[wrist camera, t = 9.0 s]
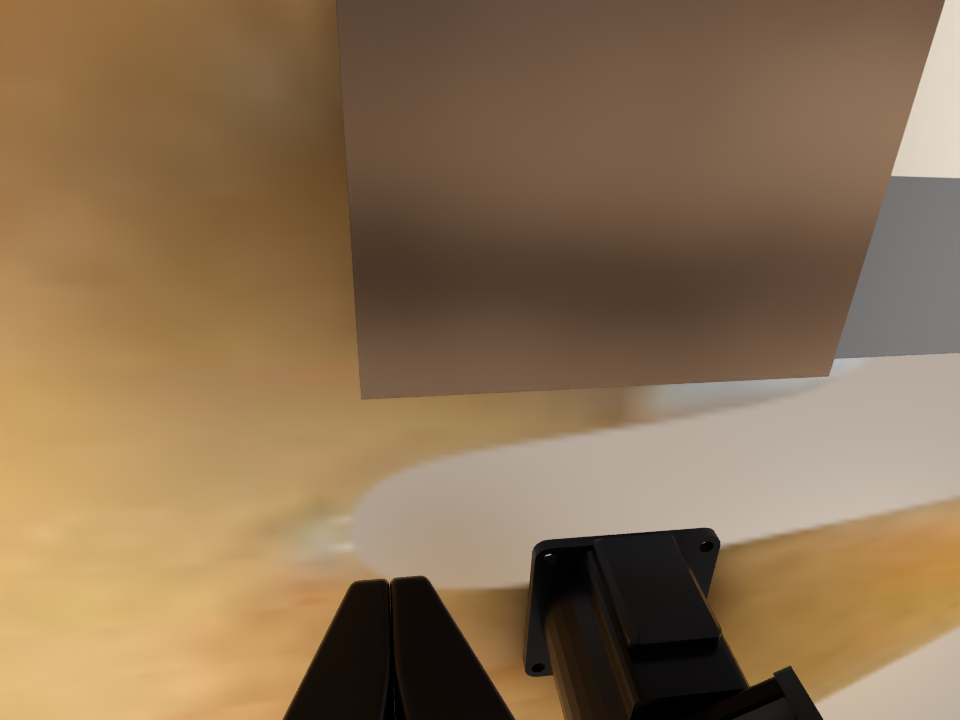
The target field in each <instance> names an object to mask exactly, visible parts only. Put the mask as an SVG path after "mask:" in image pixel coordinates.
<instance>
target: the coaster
mask: <svg viewBox="0 0 960 720" xmlns="http://www.w3.org/2000/svg"><path fill="white" fill-rule="evenodd" d="M891 176H908V177H939V178H960V0H945V3H944V6H943V9H942V12H941V16H940V19H939V22H938V25H937V29H936V32H935V35H934V38H933V41H932V45H931V48H930V51H929V54H928V58H927V61H926V64H925V67H924V70H923V74H922V77H921V80H920V83H919V87H918V90H917V93H916V96H915V99H914V103H913V106H912V109H911V112H910V116H909V119H908V122H907V125H906V128H905V132H904V135H903V138H902V141H901V145H900V148H899V151H898V154H897V157H896V161H895V164H894V167H893V170H892V174H891Z"/></svg>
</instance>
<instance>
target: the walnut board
mask: <svg viewBox="0 0 960 720" xmlns="http://www.w3.org/2000/svg"><path fill="white" fill-rule="evenodd" d="M944 3H945V0H336V9H337V25H338V41H339V57H340V72H341V88H342V104H343V120H344V136H345V151H346V167H347V183H348V199H349V215H350V230H351V246H352V262H353V278H354V294H355V309H356V325H357V341H358V357H359V373H360V388H361V399H380V398H401V397H421V396H441V395H461V394H481V393H501V392H521V391H541V390H562V389H582V388H602V387H622V386H642V385H662V384H682V383H703V382H723V381H743V380H763V379H783V378H803V377H823V376H829V373H830V370H831V367H832V364H833V360H834V357H835V354H836V351H837V348H838V344H839V341H840V338H841V335H842V331H843V328H844V325H845V322H846V319H847V315H848V312H849V309H850V306H851V302H852V299H853V296H854V293H855V290H856V286H857V283H858V280H859V277H860V273H861V270H862V267H863V264H864V261H865V257H866V254H867V251H868V248H869V244H870V241H871V238H872V235H873V232H874V228H875V225H876V222H877V219H878V215H879V212H880V209H881V206H882V203H883V199H884V196H885V193H886V190H887V186H888V183H889V180H890V177H891V174H892V170H893V167H894V164H895V161H896V157H897V154H898V151H899V148H900V145H901V141H902V138H903V135H904V132H905V128H906V125H907V122H908V119H909V116H910V112H911V109H912V106H913V103H914V99H915V96H916V93H917V90H918V87H919V83H920V80H921V77H922V74H923V70H924V67H925V64H926V61H927V58H928V54H929V51H930V48H931V45H932V41H933V38H934V35H935V32H936V29H937V25H938V22H939V19H940V16H941V12H942V9H943V6H944Z"/></svg>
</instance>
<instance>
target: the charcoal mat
mask: <svg viewBox="0 0 960 720" xmlns="http://www.w3.org/2000/svg"><path fill="white" fill-rule="evenodd" d="M945 353H960V178H939V177H908V176H891V177H890V180H889V183H888V186H887V190H886V193H885V196H884V199H883V203H882V206H881V209H880V212H879V215H878V219H877V222H876V225H875V228H874V232H873V235H872V238H871V241H870V244H869V248H868V251H867V254H866V257H865V261H864V264H863V267H862V270H861V273H860V277H859V280H858V283H857V286H856V290H855V293H854V296H853V299H852V302H851V306H850V309H849V312H848V315H847V319H846V322H845V325H844V328H843V331H842V335H841V338H840V341H839V344H838V348H837V351H836V354H835V357H834V359H837V358H859V357H879V356H902V355H923V354H945Z"/></svg>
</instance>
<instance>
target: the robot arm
mask: <svg viewBox="0 0 960 720" xmlns="http://www.w3.org/2000/svg"><path fill="white" fill-rule="evenodd" d="M704 542H705V543H704ZM702 543H703V544H702ZM719 549H720V540H719V539H718V537H717V535H716V534H715V532H714V530H712V529H710V528H696V529H682V530H670V531H656V532H644V533H630V534H617V535H604V536H592V537H578V538H565V539H552V540H545V541H542V542H540V543H538V544H537V545H536V546H535V547H534V549H533V551H532V562H531V573H530V585H529V596H528V608H527V620H526V631H525V643H524V654H523V662H524V667H525V672H526V673H527V674H528V675H530V676H532V677H539V676H549V675H553V676H554V680H555V684H556V687H557V691H558V695H559V699H560V703H561V707H562V711H563V715H564V719H565V720H823V718H822V717H821V715H820V713H819V712H818V710H817V708H816V707H815V705H814V703H813V702H812V700H811V699H810V697H809V695H808V694H807V692H806V690H805V689H804V687H803V685H802V684H801V682H800V680H799V679H798V677H797V676H796V674H795V672H794V671H793V669H792V667H791V666H788V667H786V668H784V669H782V670H779V671H777V672H775V673H773V674H774V676H775V677H772V678H770V679H768V680H765V681H763V682H761V683H759V684H756V685H754V686H752V687H750V686H749V684H748V682H747V680H746V678H745V676H744V674H743V673H742V671H741V669H740V667H739V665H738V663H737V661H736V659H735V657H734V655H733V653H732V651H731V649H730V647H729V645H728V643H727V641H726V639H725V637H724V635H723V633H722V631H721V627H720V625H719V623H718V621H717V619H716V617H715V615H714V613H713V611H712V609H711V607H710V605H709V603H708V601H707V600H706V599H707V595H708V591H709V587H710V583H711V580H712V576H713V572H714V568H715V564H716V560H717V556H718V553H719ZM547 554H551V555H550V556H545V555H547ZM390 604H391V610H390ZM391 631H392V632H391ZM393 680H394V681H393ZM394 702H395V706H394ZM283 720H515V718H514V717H513V715H512V713H511V712H510V710H509V708H508V707H507V705H506V704H505V702H504V700H503V699H502V697H501V695H500V694H499V692H498V691H497V689H496V687H495V686H494V684H493V683H492V681H491V679H490V678H489V676H488V674H487V673H486V671H485V670H484V668H483V666H482V665H481V663H480V662H479V660H478V658H477V657H476V655H475V653H474V652H473V650H472V649H471V647H470V645H469V644H468V642H467V641H466V639H465V637H464V636H463V634H462V632H461V631H460V629H459V628H458V626H457V624H456V623H455V621H454V619H453V618H452V616H451V615H450V613H449V611H448V610H447V608H446V607H445V605H444V603H443V602H442V600H441V598H440V597H439V595H438V594H437V592H436V590H435V589H434V587H433V586H432V584H431V582H430V581H429V580H428V579H427V578H426V577H424V576H411V577H398V578H394V579H393V580H391V582H390V588H389V583H388V581H387V580H385V579H373V580H361V581H355V582H353V583H352V584H351V585H350V587H349V588H348V590H347V592H346V594H345V596H344V598H343V600H342V602H341V604H340V606H339V608H338V610H337V612H336V614H335V616H334V618H333V620H332V622H331V624H330V626H329V628H328V630H327V632H326V634H325V636H324V638H323V640H322V642H321V644H320V646H319V648H318V650H317V652H316V654H315V656H314V658H313V660H312V662H311V664H310V666H309V668H308V670H307V672H306V674H305V676H304V678H303V680H302V682H301V684H300V686H299V688H298V690H297V692H296V694H295V696H294V698H293V700H292V702H291V704H290V706H289V708H288V710H287V712H286V714H285V716H284V718H283Z"/></svg>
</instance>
